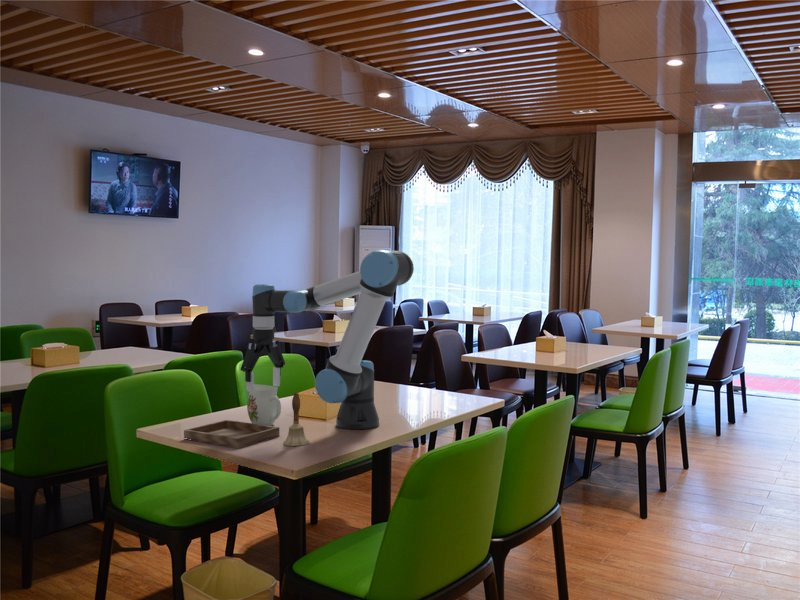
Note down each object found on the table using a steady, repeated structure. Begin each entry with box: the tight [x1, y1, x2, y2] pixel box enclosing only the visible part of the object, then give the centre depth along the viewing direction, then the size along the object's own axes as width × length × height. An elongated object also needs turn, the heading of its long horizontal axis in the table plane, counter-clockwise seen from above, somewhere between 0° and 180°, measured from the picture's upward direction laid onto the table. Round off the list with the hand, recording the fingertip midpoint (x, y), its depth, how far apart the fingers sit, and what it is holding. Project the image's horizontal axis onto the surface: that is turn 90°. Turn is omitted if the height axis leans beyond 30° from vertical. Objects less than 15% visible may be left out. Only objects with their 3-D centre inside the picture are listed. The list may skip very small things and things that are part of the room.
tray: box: [183, 419, 280, 449], centre depth 241 cm, size 24×19×3 cm
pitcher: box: [246, 383, 282, 426], centre depth 260 cm, size 11×18×14 cm, turn 46°
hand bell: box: [282, 392, 310, 447], centre depth 233 cm, size 8×8×16 cm
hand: (263, 388), depth 260 cm, fingers open, 13 cm apart
